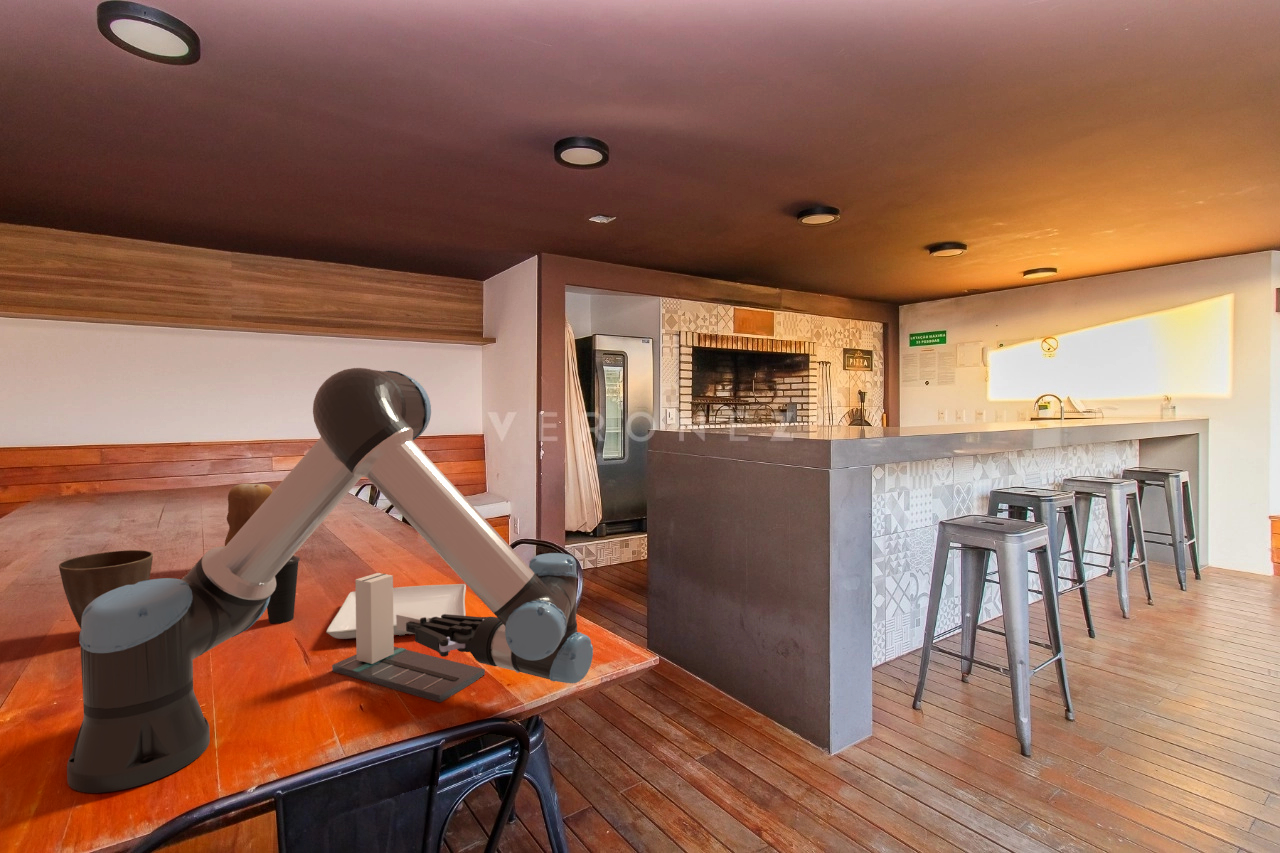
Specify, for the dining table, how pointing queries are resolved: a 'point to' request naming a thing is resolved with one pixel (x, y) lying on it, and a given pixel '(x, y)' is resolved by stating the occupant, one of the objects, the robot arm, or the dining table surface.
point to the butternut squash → (244, 505)
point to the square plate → (405, 606)
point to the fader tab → (374, 617)
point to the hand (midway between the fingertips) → (399, 620)
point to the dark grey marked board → (413, 673)
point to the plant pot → (102, 575)
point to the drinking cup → (284, 593)
